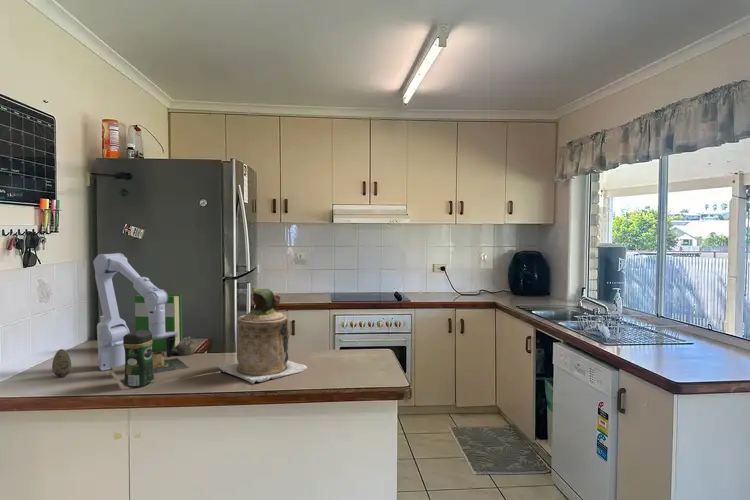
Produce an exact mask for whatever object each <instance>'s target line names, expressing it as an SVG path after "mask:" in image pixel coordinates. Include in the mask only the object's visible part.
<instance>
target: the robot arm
mask: <svg viewBox="0 0 750 500" xmlns="http://www.w3.org/2000/svg"><path fill="white" fill-rule="evenodd" d="M92 264H93V268H94V272H95V274H94V277H95V283H96V289H97V292H98V298H99V302H100V307H101V311H102V316H103V317H104V322H103V323H102V324H101V325H100V327H99V329H100V334H99V339H100V341H101V343H102V344H103V346H99V347H98V346H97V359H98V360H97V363H98V365H97V366H98V368H99V370H100V371H110V370H113V368H114V367H120V366H123V365H124V366H125V349H124V346H123V337H124V336H125V335H126V334H129V333H131V332H130V329H129V327H128V326H127V323H126V321H125V320H124V319H123V318H121V317H120V311H119V306H118V303H117V302H118V301H117V298H116V293H115V288H114V284H113V283H114V282H113V280H112V279H113V277H114V275H116V274H117V273H118V272H119V273H120V274H122V275H123V276H124V277H125V278H126V279H128V280H129V281H130V282H132V283H133V285H132V286H133V289H134V290H135V291H136V292H137V293H138V294H139V295H142V296H143V297H144V298H145V299H144V301H145V304H146V305H147V310H148V316H149V330H150V332H151V333H152V338H153V340H155V339H163V338H166V344H167V351H166V357H167V358H170V357H171V355H170V354H171V350H172V347H173V345H174V343H175V340H176V338H175V337H178V332H177V331H175V332H165V304H166V303H167V301H168V295H167V294H168V293H167V291H166V290H164V289H163V288H162V289H160V288H158V287H157V286H155V285H154V283H153V282H151V280H150V278H149V277H146V276H141V275H139V273H138V272H137V271H136V269H134V268H133V267H132V265H131V264H130V263H129V262H128V257H126V256H125V255H124V254H123V253H121V252H116V253H99V254H98V255H96V256H95V258H94V260H93V261H92ZM112 326H116V327H112ZM111 327H112V328H111Z"/></svg>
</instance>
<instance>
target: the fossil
mask: <svg viewBox="0 0 750 500" xmlns="http://www.w3.org/2000/svg"><path fill="white" fill-rule="evenodd" d="M195 350H196V346H195V342H194V341H193V340H192V338H191V336H188V337H184V338H182V340H181V341H180V342H179V344H177V346H176V347H175V348H174V349H173V350H171V354H170V356H174V355H176V354H177V355H179V356H180V357H186V356H192V355H194V354H195Z"/></svg>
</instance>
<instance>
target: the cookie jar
mask: <svg viewBox="0 0 750 500" xmlns="http://www.w3.org/2000/svg"><path fill="white" fill-rule="evenodd" d="M252 300H253V303H254V307H253V308H252V309H251V310H250V311H249V312H247V313H246V314H244V315H240V316H238V317H237V324H238V325H239V327H238V336H237V337H238V338H237V342H236V359H237V361H238V362H233V363H226V364H220V365H218V368H219V369H220V373H222V372H224V373H227V374H229V375H232V376H234V377H236V378H237V377H238V378H239V379H242V380H245V381H247V382H249V383H251V384H253V385H254V384H255V382H258V383H260V382H261V383H262V382H265V381H269V380H271V379H272V380H273V379H275V380H276V379H279V378H282V377H288V376H291V375H294V374H299V373H302V372H305V371H306V370H307V369H308V366H307V365H305V364H301V363H297V362H294V361H291V360H289V354H288V353H289V352H288V349H289V347H288V345H289V339H290V330H289V324H288V322H289V319H288V317H287V316H286V315H285V314H283V313H282V312H281V311H279V310H278V307H277V305H279V304H280V302H281V295H280V294H277V293H274V292H273V290H271V289H269V288H258V287H257V286H252Z"/></svg>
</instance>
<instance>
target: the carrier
mask: <svg viewBox="0 0 750 500" xmlns="http://www.w3.org/2000/svg"><path fill="white" fill-rule="evenodd" d="M164 362H166V363H168V364H169V366H167V367H161V368H153V370H154V374H158V373H159V374H160V373H166V372H170V371H177V370H184V369H189V368H190V367H189V366H188V365H187V364H186V363H184V362H183V361H181V359H179V358H178V357H176V358H170V359H164Z"/></svg>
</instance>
